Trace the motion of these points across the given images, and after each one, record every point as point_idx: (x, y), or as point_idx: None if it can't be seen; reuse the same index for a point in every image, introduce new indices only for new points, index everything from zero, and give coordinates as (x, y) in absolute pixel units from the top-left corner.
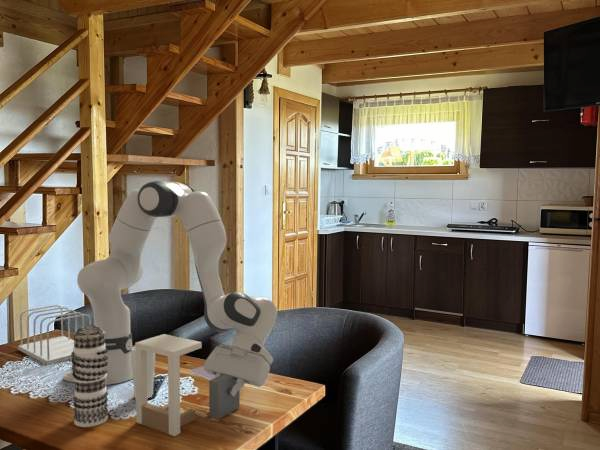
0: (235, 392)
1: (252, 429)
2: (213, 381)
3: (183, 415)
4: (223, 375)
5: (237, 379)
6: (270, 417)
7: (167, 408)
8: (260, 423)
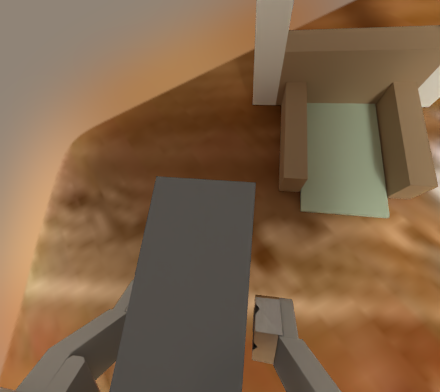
0: None
1: (70, 220)
2: (210, 183)
3: (288, 124)
4: (215, 380)
5: (65, 386)
6: (36, 337)
7: (400, 147)
8: (58, 271)
